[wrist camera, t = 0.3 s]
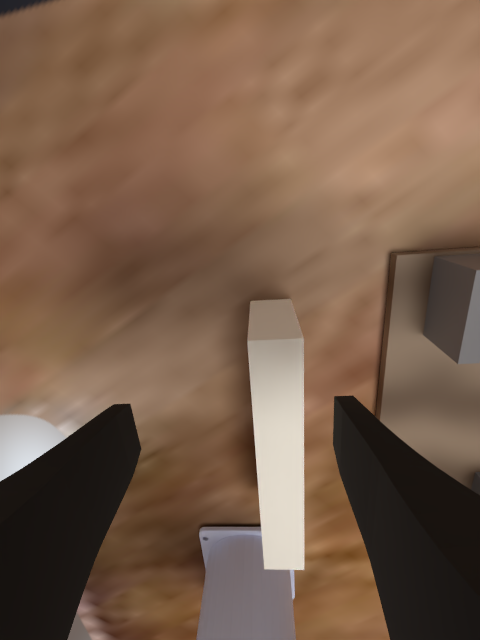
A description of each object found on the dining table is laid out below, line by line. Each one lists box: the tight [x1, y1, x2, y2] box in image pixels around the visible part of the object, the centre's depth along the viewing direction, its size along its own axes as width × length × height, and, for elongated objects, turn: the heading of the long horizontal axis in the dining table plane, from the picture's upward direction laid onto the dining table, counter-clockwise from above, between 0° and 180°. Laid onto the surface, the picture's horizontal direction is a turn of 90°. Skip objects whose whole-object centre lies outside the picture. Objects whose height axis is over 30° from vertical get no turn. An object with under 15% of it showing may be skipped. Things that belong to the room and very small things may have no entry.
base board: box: [375, 247, 480, 489], centre depth 21 cm, size 21×10×1 cm, turn 5°
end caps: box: [423, 254, 480, 495], centre depth 19 cm, size 20×6×4 cm, turn 5°
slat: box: [247, 299, 304, 570], centre depth 19 cm, size 16×2×6 cm, turn 4°
